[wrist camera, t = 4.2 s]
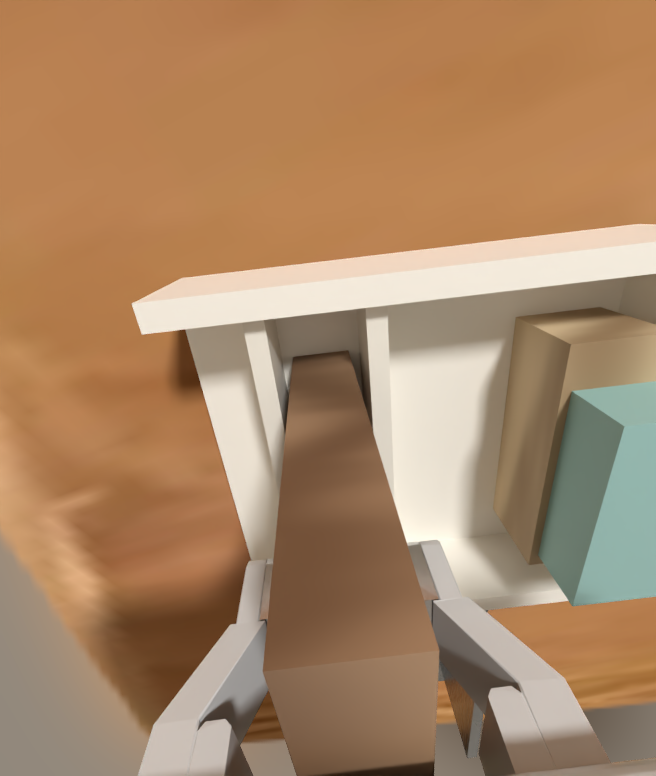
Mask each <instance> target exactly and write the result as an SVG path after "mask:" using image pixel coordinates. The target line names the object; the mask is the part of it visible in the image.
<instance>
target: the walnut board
mask: <svg viewBox="0 0 656 776" xmlns="http://www.w3.org/2000/svg"><path fill="white" fill-rule="evenodd" d="M438 671H439V647H438V644H437V641H436V638H435V634H434V631H433V628H432V624H431V621H430V618H429V614H428V611H427V608H426V605H425V601H424V598H423V595H422V591H421V588H420V585H419V582H418V578H417V575H416V572H415V568H414V565H413V562H412V559H411V555H410V552H409V549H408V545H407V542H406V539H405V536H404V532H403V529H402V526H401V522H400V519H399V516H398V512H397V509H396V506H395V503H394V499H393V496H392V493H391V489H390V486H389V483H388V480H387V476H386V473H385V470H384V466H383V463H382V460H381V457H380V453H379V450H378V447H377V443H376V440H375V437H374V433H373V430H372V427H371V424H370V420H369V417H368V414H367V410H366V407H365V404H364V401H363V397H362V394H361V391H360V387H359V384H358V381H357V378H356V374H355V371H354V368H353V364H352V361H351V358H350V355H349V351H348V350H346V351H338V352H329V353H321V354H312V355H304V356H296V357H293V361H292V371H291V382H290V392H289V403H288V413H287V423H286V434H285V444H284V454H283V465H282V475H281V486H280V496H279V506H278V517H277V527H276V537H275V548H274V558H273V568H272V579H271V589H270V600H269V610H268V620H267V631H266V641H265V651H264V662H263V675H264V678H265V681H266V684H267V687H268V690H269V693H270V696H271V699H272V702H273V705H274V708H275V711H276V714H277V717H278V720H279V723H280V726H281V729H282V732H283V735H284V738H285V741H286V744H287V747H288V750H289V753H290V756H291V759H292V762H293V765H294V769H295V772H296V775H297V776H434V761H435V737H436V716H437V693H438Z"/></svg>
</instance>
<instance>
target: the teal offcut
mask: <svg viewBox="0 0 656 776" xmlns="http://www.w3.org/2000/svg"><path fill="white" fill-rule="evenodd" d="M538 556H539V557H540V559H541V560H542V562H543V563H544V565H545V566H546V568H547V569H548V571H549V572H550V574H551V575H552V577H553V578H554V580H555V581H556V583H557V584H558V586H559V587H560V589H561V590H562V592H563V593H564V594H565V596H566V597H567V599H568V600H569V602H570V603H571V605H572V606H579V605H588V604H596V603H605V602H613V601H622V600H630V599H639V598H647V597H656V381H653V382H644V383H636V384H627V385H619V386H611V387H602V388H594V389H585V390H577V391H572V393H571V398H570V402H569V407H568V412H567V417H566V422H565V427H564V432H563V436H562V441H561V446H560V451H559V456H558V461H557V466H556V470H555V475H554V480H553V485H552V490H551V495H550V500H549V504H548V509H547V514H546V519H545V524H544V529H543V534H542V538H541V543H540V548H539V553H538Z"/></svg>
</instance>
